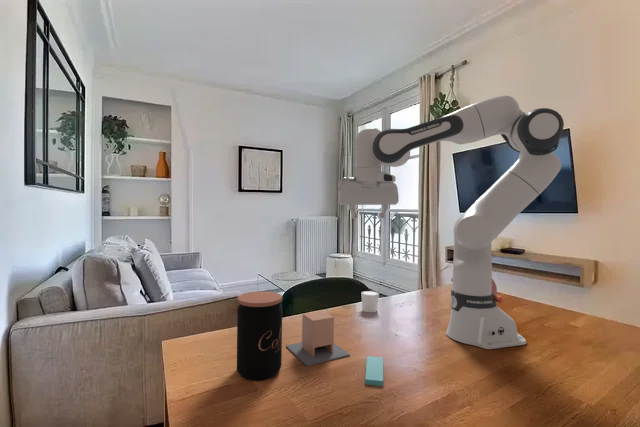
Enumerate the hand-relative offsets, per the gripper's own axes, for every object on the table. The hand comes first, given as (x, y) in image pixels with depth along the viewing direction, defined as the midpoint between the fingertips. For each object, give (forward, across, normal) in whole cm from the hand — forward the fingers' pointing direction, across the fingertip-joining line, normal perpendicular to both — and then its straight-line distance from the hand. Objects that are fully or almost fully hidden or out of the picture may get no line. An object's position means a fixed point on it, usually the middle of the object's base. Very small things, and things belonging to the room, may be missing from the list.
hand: (368, 218), depth 111 cm
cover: (+36, -20, -18) cm, 45 cm away
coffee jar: (+36, -35, -28) cm, 57 cm away
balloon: (+37, +49, +20) cm, 65 cm away
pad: (+36, -20, -18) cm, 45 cm away
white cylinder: (+36, +5, +17) cm, 40 cm away
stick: (+37, -7, -30) cm, 49 cm away
